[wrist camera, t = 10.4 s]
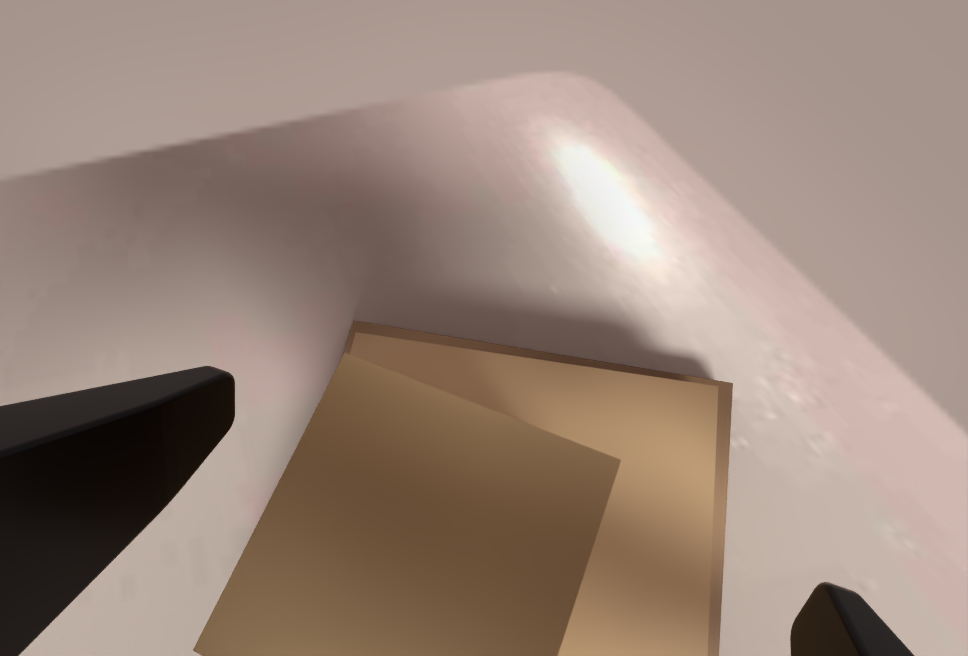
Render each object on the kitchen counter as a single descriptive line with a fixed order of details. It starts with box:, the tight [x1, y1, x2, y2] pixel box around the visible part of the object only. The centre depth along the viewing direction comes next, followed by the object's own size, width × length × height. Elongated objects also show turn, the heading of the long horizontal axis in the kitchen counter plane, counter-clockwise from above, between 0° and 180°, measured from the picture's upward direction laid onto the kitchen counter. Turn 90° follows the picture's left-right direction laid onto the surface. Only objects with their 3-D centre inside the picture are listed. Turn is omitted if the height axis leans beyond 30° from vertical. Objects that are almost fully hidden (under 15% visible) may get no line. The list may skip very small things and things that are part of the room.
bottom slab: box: [343, 321, 733, 656], centre depth 18 cm, size 13×13×2 cm
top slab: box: [350, 332, 718, 656], centre depth 16 cm, size 11×11×2 cm
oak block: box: [193, 353, 621, 656], centre depth 11 cm, size 4×4×9 cm
